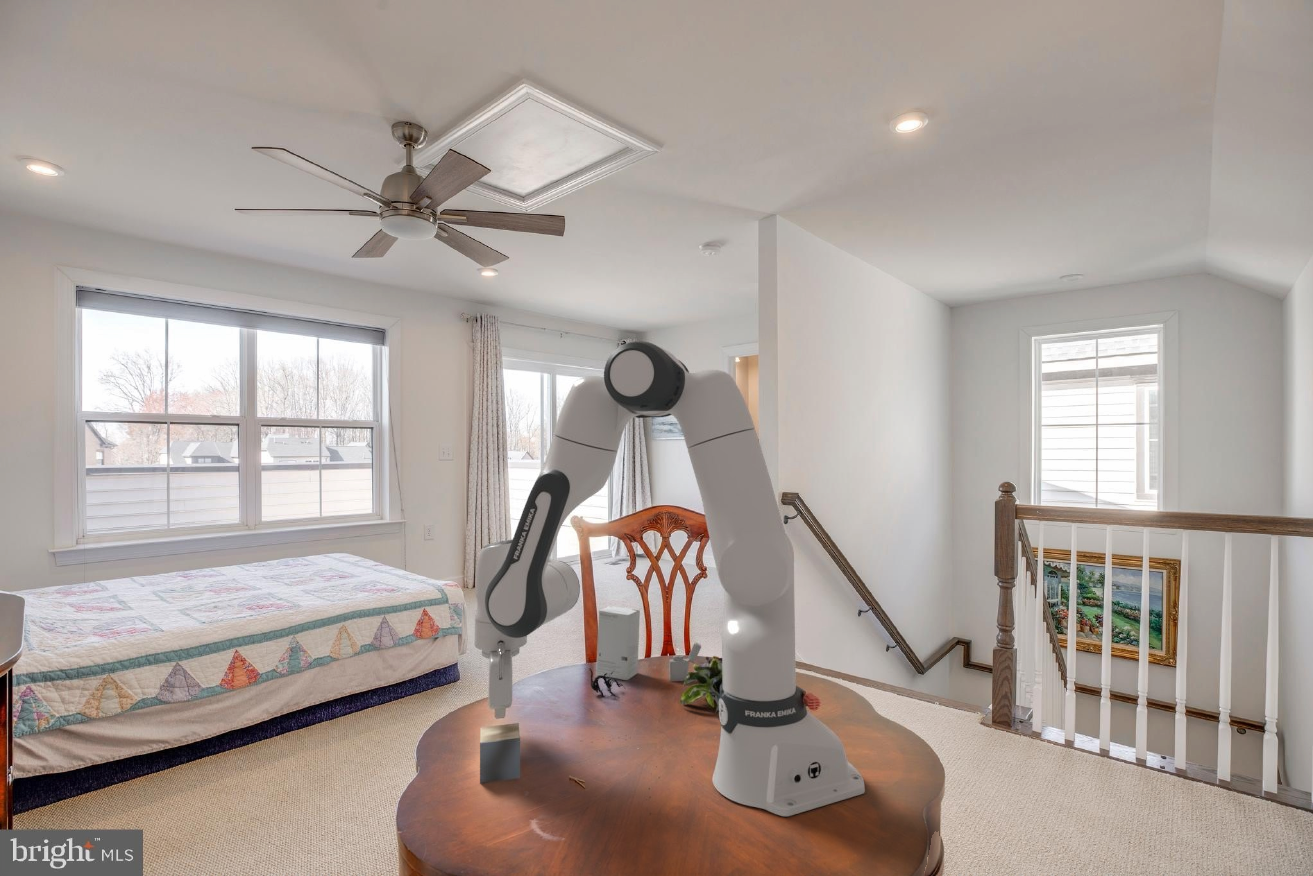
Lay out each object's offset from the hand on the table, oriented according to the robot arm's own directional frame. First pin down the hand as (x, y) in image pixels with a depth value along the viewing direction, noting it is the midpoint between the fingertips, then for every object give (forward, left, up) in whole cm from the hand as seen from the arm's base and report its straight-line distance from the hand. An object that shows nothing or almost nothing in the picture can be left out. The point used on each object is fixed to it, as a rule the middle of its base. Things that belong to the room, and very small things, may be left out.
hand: (500, 715), depth 106 cm
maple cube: (0, +6, -2) cm, 6 cm away
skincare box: (-26, -30, -6) cm, 41 cm away
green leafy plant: (-41, -7, -6) cm, 42 cm away
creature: (-22, -20, -6) cm, 30 cm away
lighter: (-40, -23, -6) cm, 47 cm away
